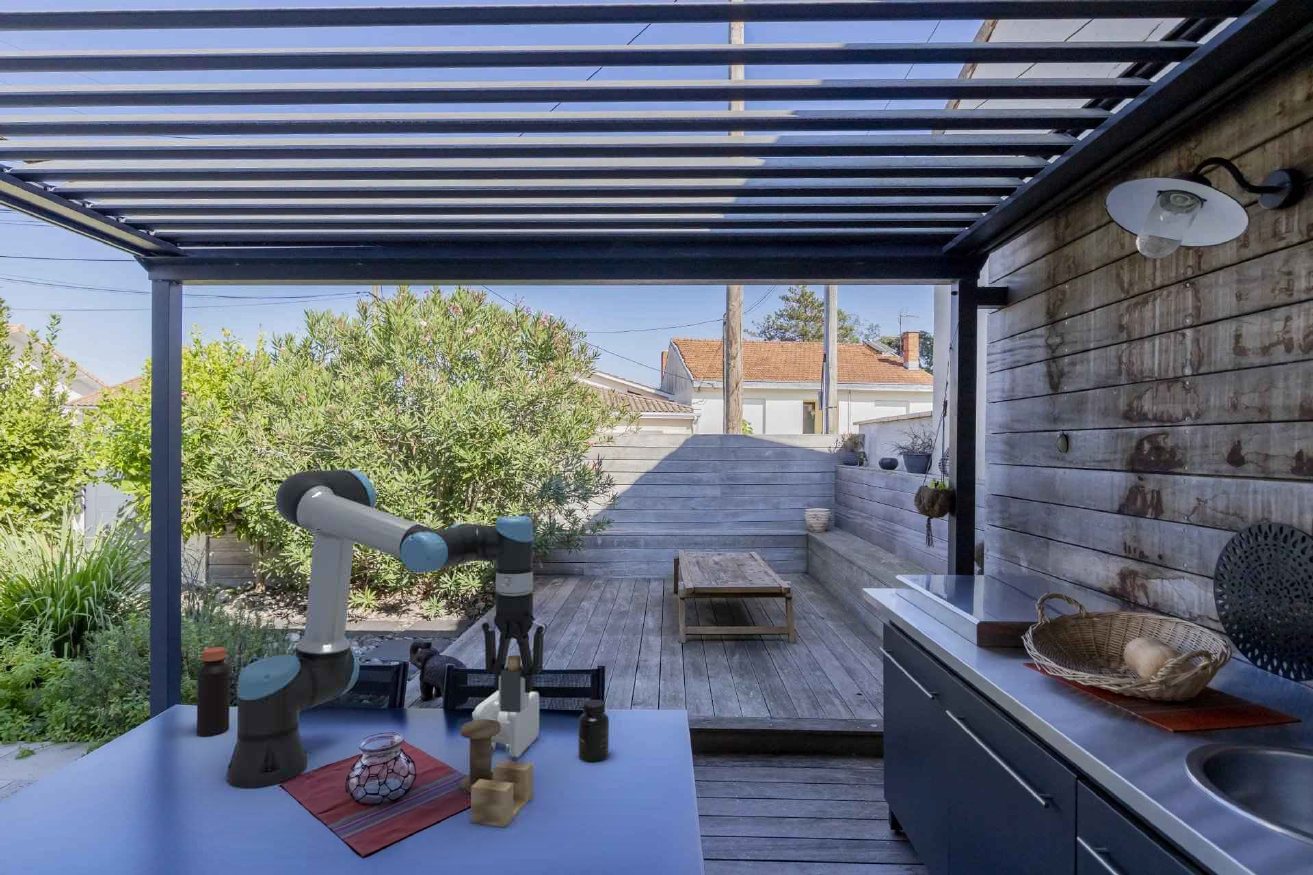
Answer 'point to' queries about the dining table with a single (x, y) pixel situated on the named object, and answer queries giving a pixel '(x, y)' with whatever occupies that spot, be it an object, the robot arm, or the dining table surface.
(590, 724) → the supplement bottle
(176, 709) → the dining table surface
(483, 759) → the bobbin
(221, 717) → the vinegar
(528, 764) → the wooden u-shaped block
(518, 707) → the gray block with knob
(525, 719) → the cable organizer
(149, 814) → the dining table surface
